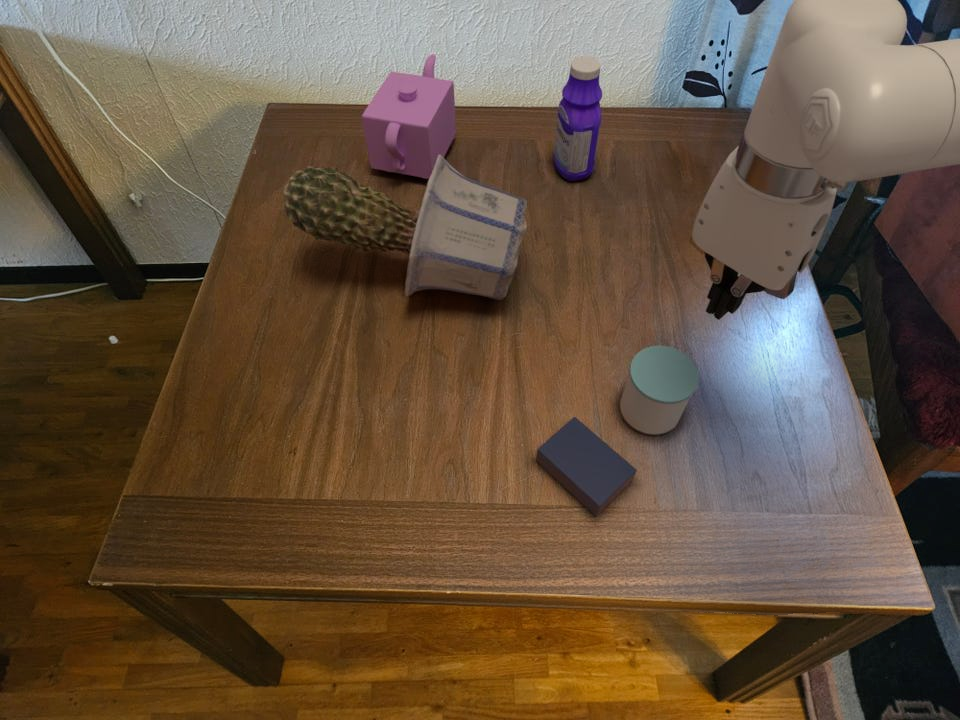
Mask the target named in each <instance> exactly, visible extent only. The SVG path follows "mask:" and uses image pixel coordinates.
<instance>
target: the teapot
mask: <svg viewBox="0 0 960 720" xmlns="http://www.w3.org/2000/svg"><path fill="white" fill-rule="evenodd" d="M436 60H437V56H436V55H435V54H430V55H429V56H428V57H427V58H426V60H425V62H424V65H423V71H422V74H421V75H417V74H411V73H404V72H398V71H392V70H391V71H390V72H389V74H388V75H387V76H386V78H385V80H384V81H383V82H382V84H381V85H380V86H379V88H378V90H377V91H376V93H375V94H374V96H373V98H372V99H371V101H370V102H369V104H368V105H367V107H366V108H365V110H364V111H363V113H362V115H361V122H362V123H361V124H362V128H363V133H364V138H365V144H366V149H367V154H368V160H369V166H370V169H375V170H379V171H385V172H387V173H396V174H401V175H407V176H413V177H416V178H417V177H418V178H421V179H424V180H429V178H430V176H431V174H432V171H433V168H434V166H435V163H436V160H437V157H438V155H441V156H442V157H443V158H444V159H445V156H446V154H447V152H448V150H449V148H450V146H451V144H452V142H453V141H454V138H455V136H456V134H457V123H456V104H455V103H456V101H455V84H454V80H448V79H442V78H436V77H435V65H436Z"/></svg>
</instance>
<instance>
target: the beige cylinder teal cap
mask: <svg viewBox="0 0 960 720" xmlns="http://www.w3.org/2000/svg"><path fill="white" fill-rule="evenodd" d="M699 383H700V373H699V370H698V367H697V365H696V364H695V362H694V361H693V360H692V358H690V356H688V355H687V354H686V353H684V352H683V351H681V350H679V349H678V348H675V347H672V346H667V345H652V346H647V347H644V348H643V349H641V350H640V351H638V352H637V353H636V354H635V355H634V357H633V358H632V360H631V362H630V366H629V373H628V375H627V379H626V383H625V386H624V388H623V392H622V395H621V398H620V402H619V413H620V416H621V418H622V420H623V422H624V423H625V424H626V425H627V426H628V427H629V428H630V429H631V430H633V431H635V432H636V433H638V434H640V435H643V436H648V437H660V436H663V435H666V434H668V433H670V432H672V431H673V430H674V429H675V428H676V427H677V425H678V423H679V421H680V419H681V417H682V415H683V414H684V411H685V409H686V407H687V405H688V403H689V401H690V399H691V397H692V396H693V395H694V394H695V392H696V391H697V388H698V386H699Z"/></svg>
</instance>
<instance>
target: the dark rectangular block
mask: <svg viewBox="0 0 960 720" xmlns="http://www.w3.org/2000/svg"><path fill="white" fill-rule="evenodd" d="M535 457H536V458H535V462H536V463H537V464H538V465H539V466H540V467H541V468H543V470H545V471H546V472H547V473H548V474H549V475H550V476H551V477H552V478H553V479H555V480H556V482H557V483H559V484H560V485H561V486H562V487H563V488H564V489H565V490H566V491H567V492H568V493H570V494H571V496H573V497H574V498H575V499H576V500H577V501H578V502H579V503H580V504H581V505H582V506H583V507H585V508H586V510H587V511H589V512H590V513H591V514H592V515H593V516H594V517H595V518H597V517H598V516H599V515H600V514H601V513H602V512H603V511H604V510H605V509H606V508H607V507H608V506H609V505H610V504H611V503H612V502H613V501H614V500H615V499H616V498H617V497H618V496H619V495H620V494H622V492H623V491H625V489H627V488H628V486H630V485H631V483H633V480H634V479H635V476H636V474H637V471H638V470H637V468H636V467H634V466H633V465H632V464H631V463H630V462H628V461H627V460H626V459H625V458H624V457H622V456H621V455H620V454H619V453H617V451H616V450H614V449H613V448H612V447H611V446H609V444H607V442H605V441H604V440H603V439H602V438H600V437H599V436H598V435H597V434H596V433H595V432H594V431H592V430H591V429H590V428H589V427H588V426H586V425H585V424H584V423H583V422H582V421H580V419H578V418H577V417H576V416H573V417H572V418H571V419H570V420H568V421H567V423H566V424H564V425H563V426H562V427H561V428H559V429H558V431H556V432H555V433H554V434H552V436H551V437H549V438H548V439H547V440H546V441H545V442H544V443H542V444H541V445H540V446H539V447H538V448H537V449H536V456H535Z"/></svg>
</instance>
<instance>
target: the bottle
mask: <svg viewBox="0 0 960 720" xmlns="http://www.w3.org/2000/svg"><path fill="white" fill-rule="evenodd" d="M601 66H602V64H601V62H600V60H598V59H597V58H595V57H593V56H589V55H582V56H581V55H580V56H577V57H575V58H572V60H571V62H570V68H569V75H568V79H567V82H566V84H565V85H564V86H563V87H562V90H561V95H562V98H561V99H560V101H559V104H558V108H557V121H556V132H555V141H554V152H553V162H554V166H555V168H556V170H557V172H558V173H559V175H561V176H562V178H564V179H565V180H567V181H570V182H571V181H574V182H575V181H581V180H584V179H587V178H589V177H591V175H592V173H593V172H594V170H595V165H596V164H595V163H596V156H597V150H598V143H599V138H600V137H599V136H600V132H601V131H600V130H601V125H602V108H601V100H602V98H603V90H602V88H601V85H600V75H601V68H602V67H601Z"/></svg>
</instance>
